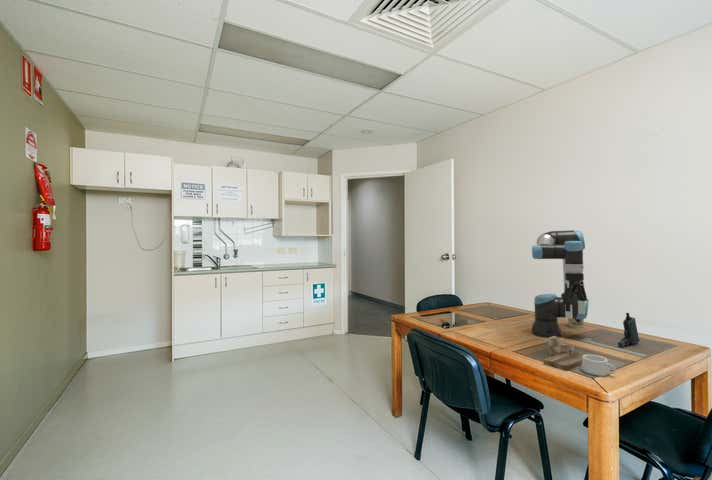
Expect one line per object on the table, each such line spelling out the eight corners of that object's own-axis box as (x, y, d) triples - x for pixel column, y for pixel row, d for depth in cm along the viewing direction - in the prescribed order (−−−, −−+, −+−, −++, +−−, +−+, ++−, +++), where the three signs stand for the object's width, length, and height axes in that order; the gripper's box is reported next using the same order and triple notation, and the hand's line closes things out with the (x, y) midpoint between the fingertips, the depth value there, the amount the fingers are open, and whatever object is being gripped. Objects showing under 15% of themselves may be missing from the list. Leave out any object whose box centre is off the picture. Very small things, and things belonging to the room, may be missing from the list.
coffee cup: (571, 328, 204) (570, 309, 204) (564, 324, 213) (563, 306, 213) (588, 328, 202) (587, 309, 202) (580, 324, 212) (579, 306, 212)
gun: (612, 320, 168) (628, 309, 174) (618, 351, 169) (634, 339, 175) (618, 321, 165) (634, 310, 171) (624, 352, 167) (640, 340, 173)
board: (543, 363, 150) (543, 359, 150) (566, 354, 160) (566, 350, 160) (567, 370, 141) (567, 366, 141) (589, 360, 152) (589, 356, 152)
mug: (577, 371, 141) (577, 357, 141) (586, 365, 146) (586, 352, 146) (611, 380, 131) (611, 365, 131) (619, 374, 137) (619, 359, 137)
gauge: (549, 353, 162) (548, 337, 162) (554, 351, 165) (554, 335, 165) (570, 359, 153) (570, 342, 153) (576, 357, 156) (575, 340, 156)
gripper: (570, 275, 150) (572, 321, 150) (593, 271, 164) (595, 313, 164) (553, 273, 157) (554, 318, 157) (577, 270, 171) (578, 311, 170)
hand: (575, 315), depth 160 cm, fingers open, 13 cm apart
